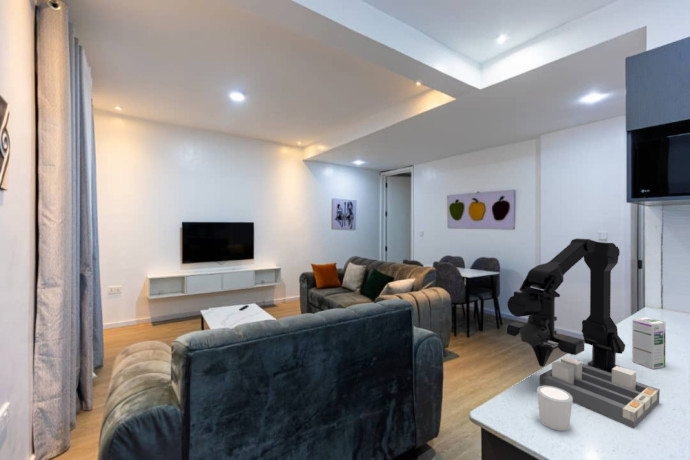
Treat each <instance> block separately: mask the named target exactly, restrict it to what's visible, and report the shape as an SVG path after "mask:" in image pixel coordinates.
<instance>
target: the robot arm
mask: <svg viewBox="0 0 690 460" xmlns="http://www.w3.org/2000/svg"><path fill="white" fill-rule="evenodd" d="M620 252H621V251H620V249H619V246H617V245H616V244H615V243H613V242H605V241H604V242H603V241H602V242H600V241H596V240H592V239H589V238H574V239H571V240H570V243H569V244H568V245H567V246H566V247H564V248H563V249H562V250H561V251H560V252H559V253H557V254H556V255H555V256H554V257H553V258H551V260H550V261H547V262H545V263H542V264H538V265H537V266H535V267H533V268H531V269H530V270H529V271H528V272H527V275H526V276H525V279H524V281H523V282H522V284H521V285H520V287H519V290H517V291H514V292H513V295H512V296H510V297H509V298H508V301H507V304H506V305H507V310H508V311H509V313H510V314H511V315H512V316H514V317H516V318H520V317H526V316H527V317H528V318H527V321H526V323H522V322H517V321H515V322H512V323H508V324H507V325H506V327H505V333H506V334H507V335H510V336H512V337H517V336H518V335H519V337H520V340H521V342H523V343H527V344H528V345H529V346H530V347H531V348H532V350H533V352H534V355H535V358H536V360H537V363H538V365H539V367H545V365H546V364H547V362H548V360H549V358H550V356H551V355H552V353H553V351H554V350H555V349H559V351H561V352H562V353H566V354H569V355H573V356H576V355H578V354H581V353H582V352H584V351H585V344H586V345H590V346H591V347H592V349H591V352H592V353H591V360H590V361H589V362H587V363H586V365H588V366H591V367H594V368H597V369H600V370H603V371H606V372H609V373H612V369H613V368H614V367H616V366H619V367H621V366H620V365H619V364H618V365H617V364H616V361H617V359H616V357H617V356H616V355H617V354H621V355H622V354H623V352H625V349H626V344H625V342H624V341H623V340H622V338H621V337H620V336H619V332H618V325H616V323H615V322H614V320H613V319H612V317H611V291H612V290H611V284H612V283H611V278H612V276H611V274H612V270H614V268H615V267H616V265H617V264H618V263H619V256H620ZM582 259H583V261H584V263H585V265H586V266H587V267H588V269H589V274H590V277H589V279H590V280H589V285H590V286H589V287H590V288H589V315H588V317H586V319H582V321H581V326H582V327H581V333H582V336H583V340H584V341H583V340H582V339H579V338H576V337H572V336H569V335H568V336H564V337H562V338H560V337H557V336H555V335H557V330H555V322H556V321H557V320H558V316H556V313H555V312H556V311H555V308H556V307H555V306H556V303H555V301H556V298H560V297H561V294H560V293H559V292H557V291H556V290H558V289H559V287H560V286H561V285H562V283H563V282H564V275H565V274H566V273H568V272H569V270H571V268H572V267H574V266H575V265H576V264H577V263H579V261H581V260H582Z"/></svg>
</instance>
